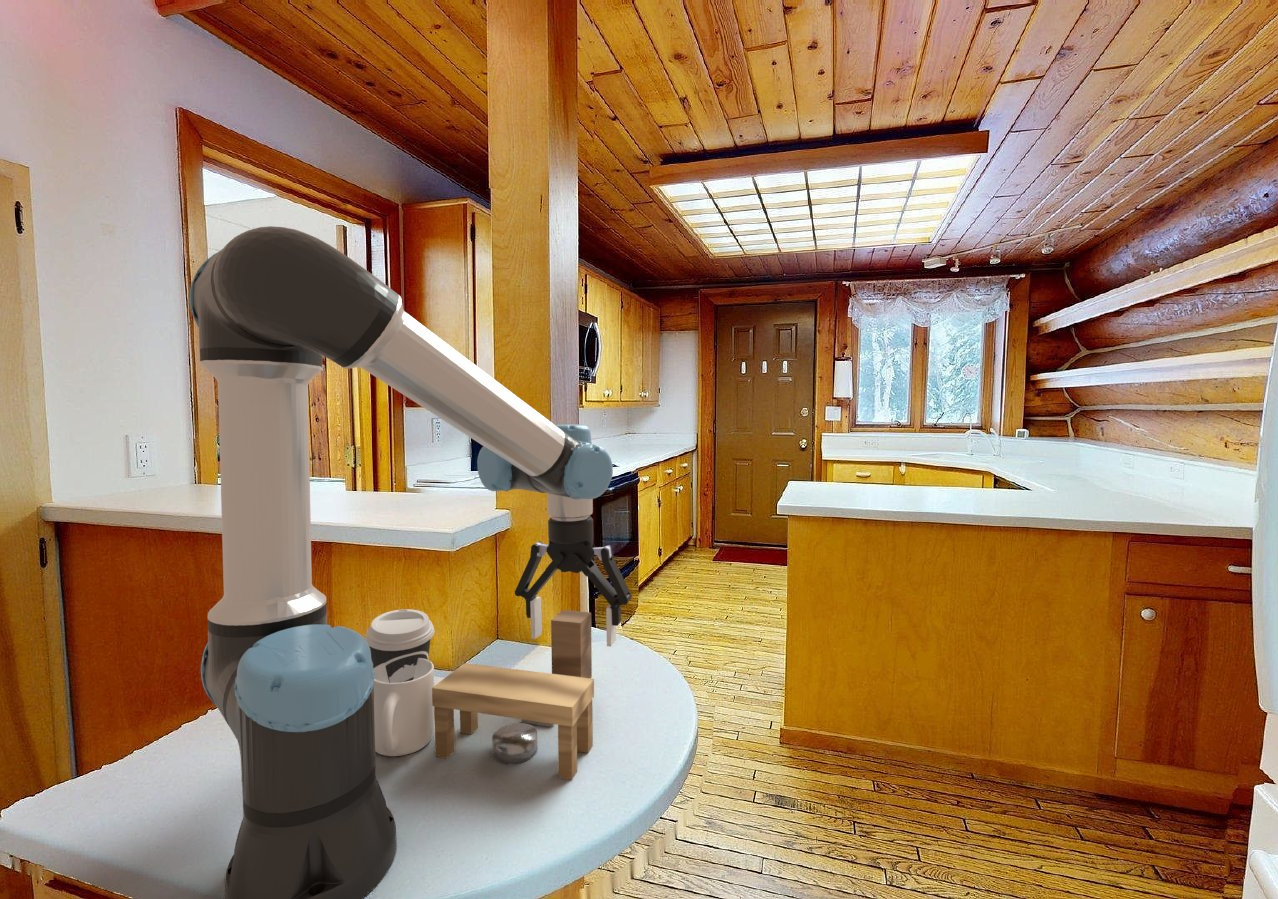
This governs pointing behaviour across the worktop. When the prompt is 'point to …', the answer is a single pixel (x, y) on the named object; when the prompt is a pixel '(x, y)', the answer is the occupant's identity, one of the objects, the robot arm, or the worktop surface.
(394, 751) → the mug
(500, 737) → the token
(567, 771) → the riser
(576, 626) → the brown l-shaped block
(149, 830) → the worktop surface
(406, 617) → the coffee cup
